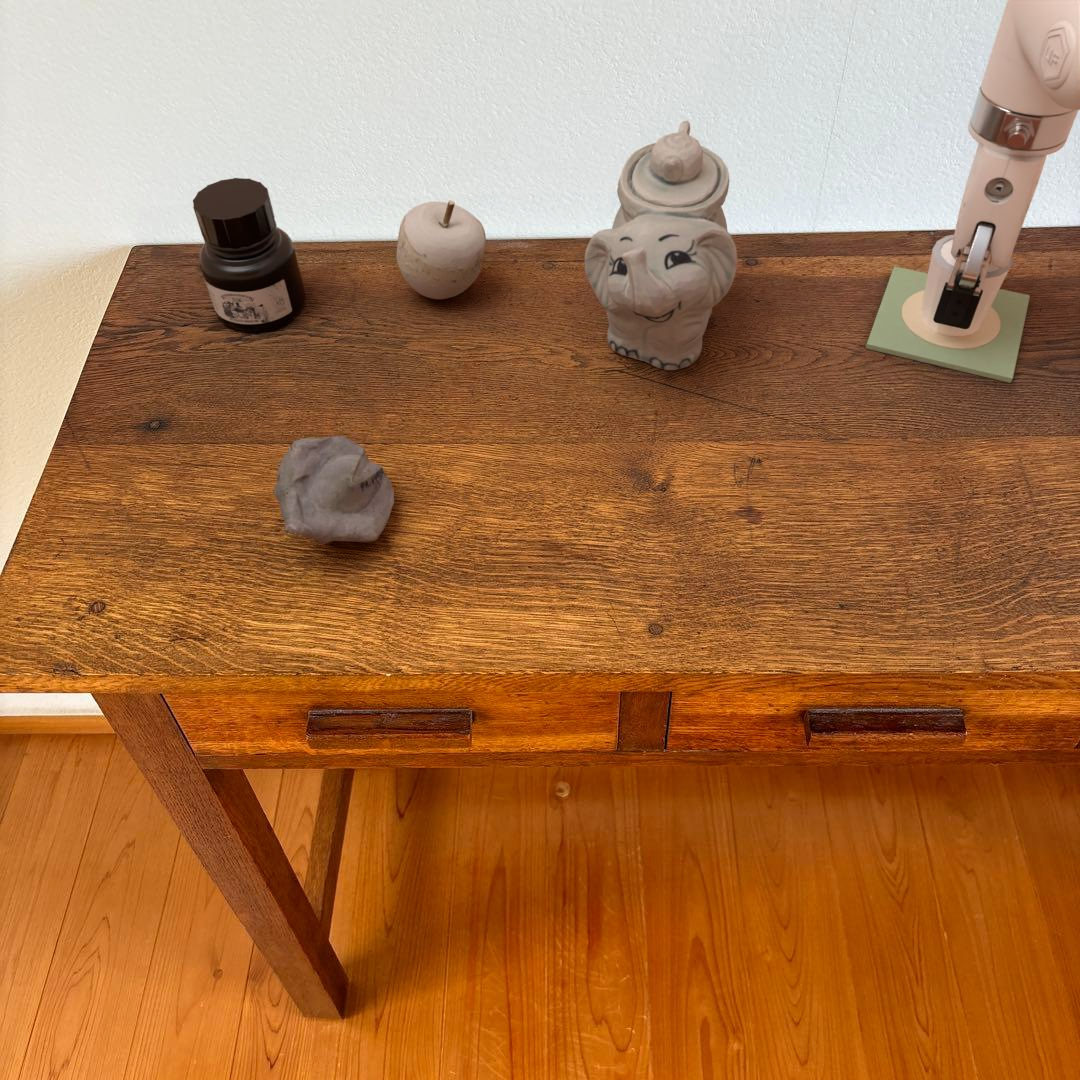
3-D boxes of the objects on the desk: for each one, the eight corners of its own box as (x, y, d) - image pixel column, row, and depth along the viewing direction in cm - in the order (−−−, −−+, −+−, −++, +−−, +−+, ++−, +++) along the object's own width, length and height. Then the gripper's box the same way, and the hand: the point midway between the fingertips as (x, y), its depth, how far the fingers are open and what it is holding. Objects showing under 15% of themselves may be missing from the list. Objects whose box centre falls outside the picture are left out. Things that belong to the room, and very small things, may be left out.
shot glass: (991, 302, 97) (1015, 239, 92) (986, 347, 93) (1011, 283, 87) (917, 289, 99) (936, 226, 93) (909, 332, 94) (929, 269, 89)
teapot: (637, 419, 89) (650, 233, 75) (537, 333, 97) (531, 149, 83) (773, 345, 95) (809, 159, 81) (668, 269, 103) (684, 87, 89)
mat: (1028, 300, 98) (1030, 293, 98) (1010, 383, 91) (1013, 376, 90) (892, 270, 102) (894, 264, 101) (865, 348, 94) (867, 342, 94)
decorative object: (388, 282, 103) (373, 193, 95) (465, 255, 105) (456, 166, 98) (425, 329, 98) (413, 239, 90) (505, 300, 100) (499, 210, 93)
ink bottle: (197, 327, 99) (159, 219, 90) (235, 274, 104) (202, 166, 95) (290, 340, 97) (260, 231, 88) (323, 285, 103) (299, 177, 93)
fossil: (379, 583, 78) (363, 515, 72) (266, 575, 79) (240, 507, 73) (407, 478, 85) (394, 408, 79) (302, 472, 86) (281, 402, 80)
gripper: (1061, 180, 74) (986, 367, 88) (1082, 74, 84) (1011, 257, 98) (956, 160, 76) (898, 346, 90) (989, 60, 87) (932, 241, 100)
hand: (958, 298), depth 94 cm, fingers closed on shot glass, 6 cm apart
